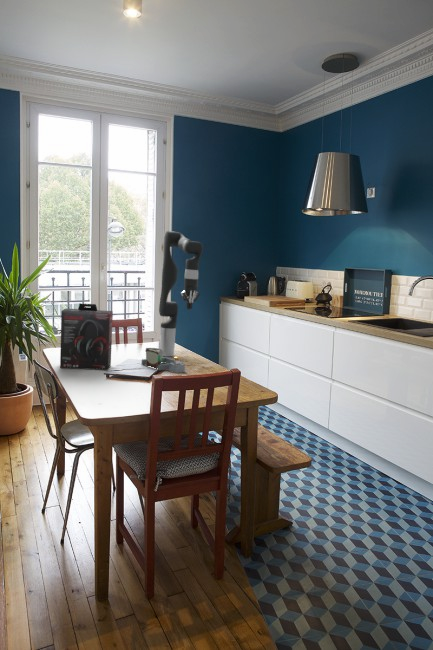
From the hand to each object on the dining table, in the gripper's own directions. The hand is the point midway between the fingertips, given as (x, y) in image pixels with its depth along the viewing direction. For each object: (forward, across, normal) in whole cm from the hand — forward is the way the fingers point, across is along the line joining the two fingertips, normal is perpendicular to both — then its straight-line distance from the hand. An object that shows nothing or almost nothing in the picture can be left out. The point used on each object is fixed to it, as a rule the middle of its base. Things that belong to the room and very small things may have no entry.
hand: (189, 309), depth 279 cm
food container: (+32, -18, +4) cm, 37 cm away
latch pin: (+30, -13, -8) cm, 34 cm away
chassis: (+32, -13, +1) cm, 34 cm away
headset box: (+32, -51, +20) cm, 64 cm away
